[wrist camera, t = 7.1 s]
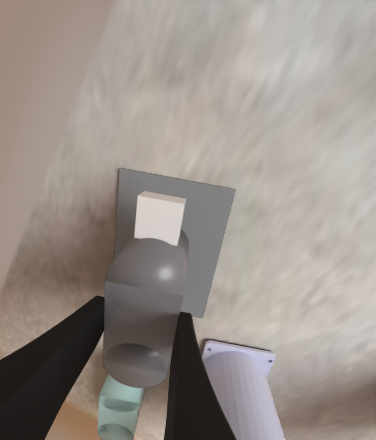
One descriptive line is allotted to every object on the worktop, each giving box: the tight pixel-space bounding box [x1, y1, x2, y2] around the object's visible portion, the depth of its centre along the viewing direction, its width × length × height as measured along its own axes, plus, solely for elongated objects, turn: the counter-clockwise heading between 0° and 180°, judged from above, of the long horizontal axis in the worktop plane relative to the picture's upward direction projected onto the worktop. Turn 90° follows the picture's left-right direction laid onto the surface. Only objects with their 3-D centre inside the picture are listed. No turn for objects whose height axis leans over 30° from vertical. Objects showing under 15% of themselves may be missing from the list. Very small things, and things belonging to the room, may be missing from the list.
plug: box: [103, 191, 189, 388], centre depth 12 cm, size 12×4×4 cm, turn 170°
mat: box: [114, 168, 235, 318], centre depth 18 cm, size 14×10×1 cm
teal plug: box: [98, 374, 145, 440], centre depth 22 cm, size 12×4×4 cm, turn 170°
